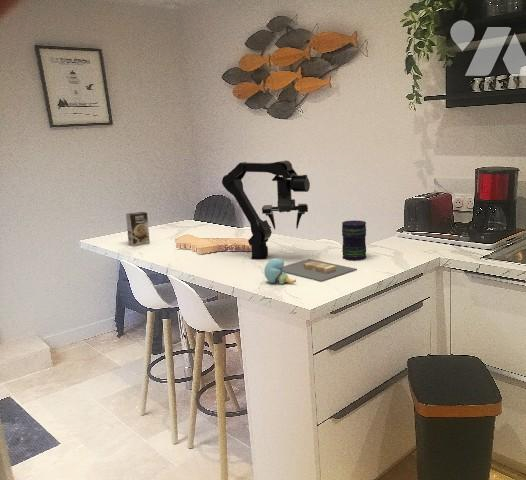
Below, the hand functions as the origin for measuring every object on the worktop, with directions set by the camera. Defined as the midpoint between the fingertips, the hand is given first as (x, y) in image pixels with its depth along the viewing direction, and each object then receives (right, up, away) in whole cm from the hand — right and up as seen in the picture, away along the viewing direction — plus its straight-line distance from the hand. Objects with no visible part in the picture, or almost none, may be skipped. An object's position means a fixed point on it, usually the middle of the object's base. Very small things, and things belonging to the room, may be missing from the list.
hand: (285, 229), depth 212 cm
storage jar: (+29, -12, 0) cm, 31 cm away
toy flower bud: (-3, -20, -30) cm, 36 cm away
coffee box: (-73, -7, +48) cm, 87 cm away
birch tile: (+8, -14, -13) cm, 21 cm away
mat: (+10, -16, -16) cm, 25 cm away
